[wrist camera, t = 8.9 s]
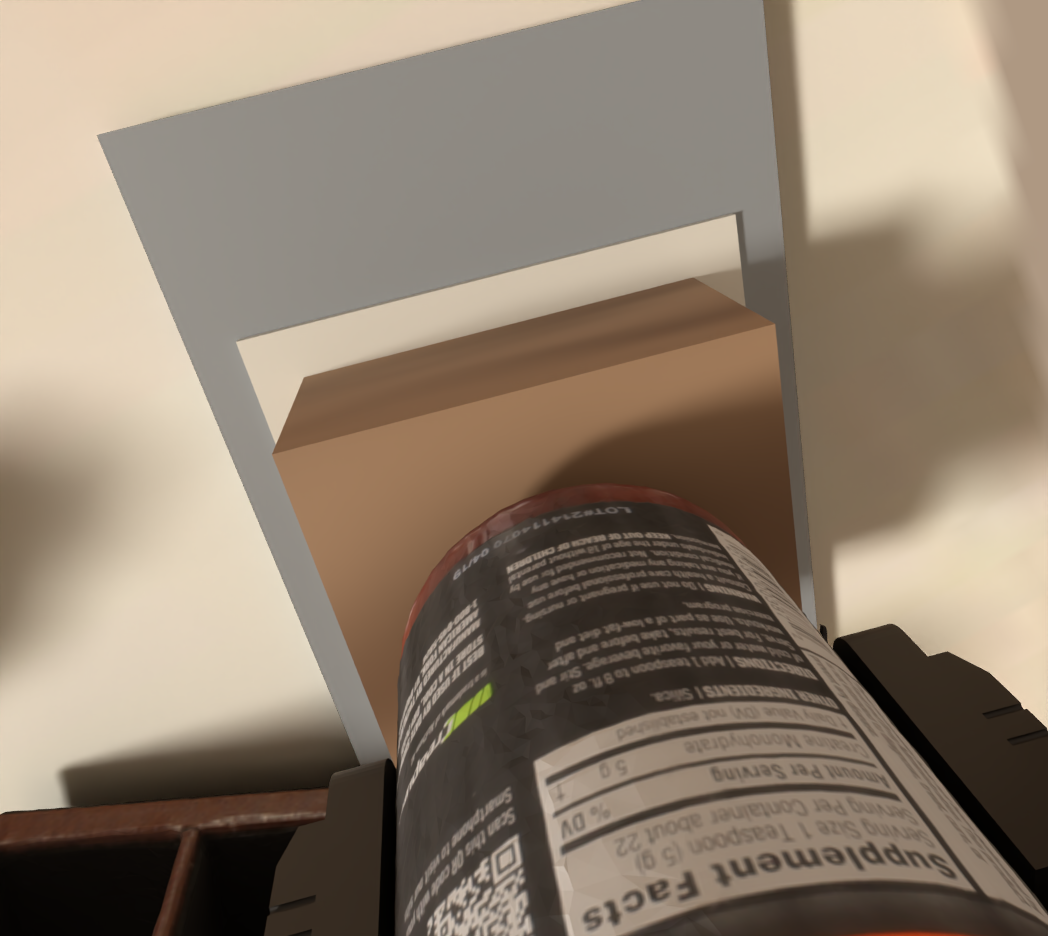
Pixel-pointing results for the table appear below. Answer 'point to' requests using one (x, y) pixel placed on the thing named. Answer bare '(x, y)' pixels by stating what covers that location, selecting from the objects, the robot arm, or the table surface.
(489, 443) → the walnut block
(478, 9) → the table surface
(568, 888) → the supplement bottle
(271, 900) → the robot arm
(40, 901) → the letter holder
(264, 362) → the board
